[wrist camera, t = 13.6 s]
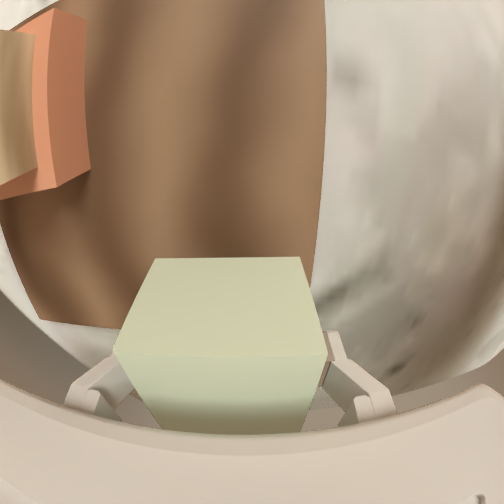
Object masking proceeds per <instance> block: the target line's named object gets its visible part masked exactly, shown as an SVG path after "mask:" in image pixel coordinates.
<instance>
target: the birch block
mask: <svg viewBox="0 0 504 504" xmlns="http://www.w3.org/2000/svg"><path fill="white" fill-rule="evenodd" d="M35 36H36V35H35V34H29V33H23V32H16V31H8V30H0V185H2V184H4V183H6V182H8V181H10V180H12V179H14V178H16V177H18V176H20V175H22V174H24V173H26V172H28V171H30V170H33V169H35V168H37V167H38V163H37V156H36V148H35V140H34V129H33V113H32V69H33V54H34V44H35Z"/></svg>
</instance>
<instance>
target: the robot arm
mask: <svg viewBox="0 0 504 504" xmlns="http://www.w3.org/2000/svg"><path fill="white" fill-rule="evenodd" d="M322 333H323V336H324V340H325V344H326V347H327V351H328V355H327V359H326V362H325V365H324V368H323V371H322V374H321V377H320V380H319V383H318V386H317V387H319V386H322V388H323V389H324V390H325V391H326V392H327V393H328V394H329V395H330V396H331V397H332V399H333V400H334V401H335V402H336V403H337V404H338V405H339V406H340V407H341V408H342V409H343V410H344V412H345V414H344V416H343V418H342V419H341V421H340V422H339V424H338V427H336V428H329V429H322V430H315V431H305V432H295V433H282V434H260V435H226V434H205V433H192V432H181V431H173V430H165V429H158V428H150V427H145V426H139V425H134V424H129V423H124V422H121V421H122V419H121V418H120V416H119V415H118V414H117V413H116V412H115V411H114V409H115V408H116V407H117V406H118V405H119V404H120V403H121V402H122V401H123V400H124V399H125V398H126V397H127V396H128V395H129V394H130V393H131V392H132V391H133V389H134V386H133V385H132V383H131V381H130V380H129V378H128V376H127V375H126V373H125V371H124V369H123V368H122V366H121V364H120V362H119V361H118V359H117V357H116V355H115V353H114V351H112V353H111V356H110V357H106V358H105V359H103V360H102V361H101V362H99V363H98V364H97V365H95V366H94V367H93V368H91V369H90V370H89V371H88V372H86V373H85V374H84V375H82V376H81V377H80V378H78V379H77V380H76V381H74V382H73V383H72V384H71V387H70V389H69V391H68V394H67V396H66V399H65V401H64V404H63V405H60V404H57V403H54V402H52V401H49V400H46V399H44V398H41V397H39V396H36V395H34V394H32V393H29V392H27V391H25V390H22V389H20V388H18V387H16V386H14V385H12V384H10V383H8V382H5V381H4V380H2V379H0V504H504V398H503V396H502V395H500V394H499V393H498V392H496V391H495V390H493V389H491V388H490V387H488V386H486V385H484V384H477V385H474V386H472V387H470V388H468V389H466V390H463V391H461V392H459V393H457V394H454V395H451V396H449V397H447V398H444V399H441V400H439V401H436V402H433V403H430V404H427V405H424V406H421V407H418V408H415V409H412V410H409V411H406V412H402V413H399V414H397V411H396V408H395V405H394V402H393V399H392V396H391V394H390V391H389V389H388V388H386V387H385V386H384V385H383V384H381V383H380V382H379V381H378V380H376V379H375V378H374V377H372V376H371V375H370V374H369V373H367V372H366V371H365V370H364V369H362V368H361V367H360V366H359V365H357V364H356V363H355V362H354V361H352V360H351V359H347V356H346V353H345V350H344V347H343V344H342V341H341V338H340V336H339V333H338V331H337V330H334V331H322Z"/></svg>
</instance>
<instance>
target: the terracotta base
mask: <svg viewBox="0 0 504 504" xmlns="http://www.w3.org/2000/svg"><path fill="white" fill-rule="evenodd" d="M87 23H88V21H87V20H84V19H82V18H80V17H77V16H75V15H72V14H70V13H67V12H65V11H62V10H59V9H57V8H53V9H51V10H49V11H47V12H45V13H44V14H42V15H40V16H38V17H37V18H35V19H33V20H32V21H30V22H28V23H27V24H25V25H24V26H22V27H21V28H19V29H18V30H16V32H23V33H29V34H35V35H36V36H35V44H34V54H33V69H32V113H33V129H34V140H35V148H36V156H37V163H38V167H37V168H35V169H33V170H30V171H28V172H26V173H24V174H22V175H20V176H18V177H16V178H14V179H12V180H10V181H8V182H6V183H4V184H2V185H0V200H3V199H7V198H11V197H15V196H19V195H23V194H27V193H32V192H36V191H41V190H46V189H51V188H56V187H58V186H60V185H62V184H64V183H66V182H67V181H69V180H71V179H73V178H75V177H77V176H78V175H80V174H82V173H84V172H86V171H88V170H90V169H91V165H90V158H89V149H88V140H87V129H86V115H85V90H84V70H85V46H86V33H87Z"/></svg>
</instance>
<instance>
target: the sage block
mask: <svg viewBox="0 0 504 504" xmlns="http://www.w3.org/2000/svg"><path fill="white" fill-rule="evenodd" d="M113 351H114V353H115V355H116V357H117V359H118V361H119V362H120V364H121V366H122V368H123V369H124V371H125V373H126V375H127V376H128V378H129V380H130V381H131V383H132V385H133V386H134V388H135V389H136V391H137V393H138V394H139V396H140V397H141V399H142V400H143V402H144V403H145V405H146V406H147V408H148V409H149V411H150V412H151V414H152V415H153V417H154V418H155V419H156V421H157V422H158V424H159V425H160V426H161V428H162V429H165V430H173V431H181V432H192V433H205V434H226V435H260V434H282V433H295V432H300V430H301V428H302V426H303V423H304V421H305V418H306V415H307V413H308V410H309V408H310V405H311V402H312V400H313V397H314V394H315V391H316V389H317V386H318V383H319V380H320V377H321V374H322V371H323V368H324V365H325V362H326V359H327V355H328V351H327V347H326V344H325V340H324V336H323V333H322V329H321V326H320V322H319V319H318V315H317V312H316V308H315V305H314V301H313V298H312V295H311V291H310V288H309V285H308V281H307V278H306V275H305V272H304V269H303V265H302V262H301V259H300V257H240V258H155V260H154V262H153V264H152V266H151V268H150V270H149V272H148V274H147V276H146V278H145V280H144V282H143V284H142V286H141V288H140V290H139V292H138V294H137V296H136V298H135V300H134V302H133V304H132V306H131V309H130V311H129V313H128V315H127V317H126V319H125V322H124V324H123V326H122V328H121V331H120V333H119V335H118V338H117V340H116V342H115V345H114V347H113Z"/></svg>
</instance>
